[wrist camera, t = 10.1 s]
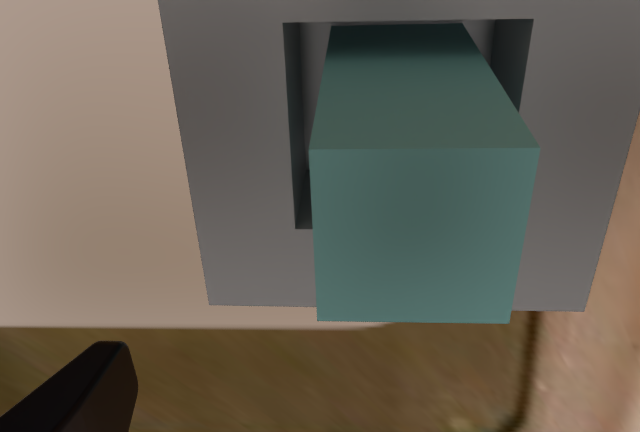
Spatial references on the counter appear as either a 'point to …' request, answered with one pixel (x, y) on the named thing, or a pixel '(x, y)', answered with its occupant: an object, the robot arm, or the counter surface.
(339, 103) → the teal block
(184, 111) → the well block
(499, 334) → the counter surface
